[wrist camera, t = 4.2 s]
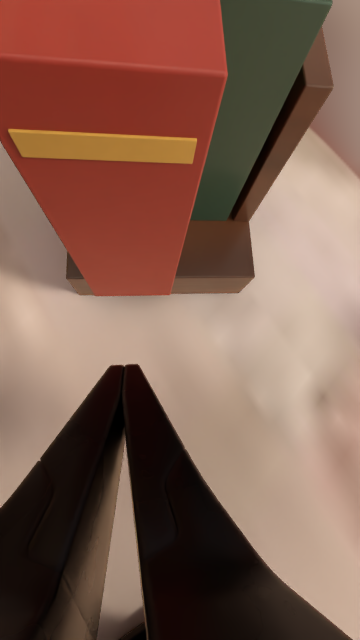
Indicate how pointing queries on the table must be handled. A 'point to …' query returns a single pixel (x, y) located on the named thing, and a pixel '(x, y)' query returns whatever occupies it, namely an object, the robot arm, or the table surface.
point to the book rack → (244, 194)
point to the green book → (253, 90)
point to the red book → (113, 126)
